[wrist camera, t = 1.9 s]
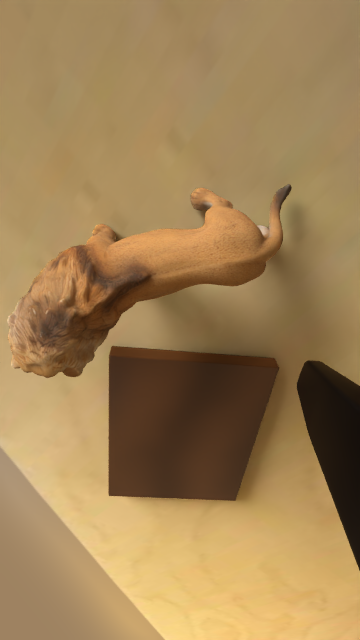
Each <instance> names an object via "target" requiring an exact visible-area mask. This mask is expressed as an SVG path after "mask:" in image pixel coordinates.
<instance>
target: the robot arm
mask: <svg viewBox="0 0 360 640" xmlns="http://www.w3.org/2000/svg"><path fill="white" fill-rule="evenodd" d="M297 391H298V395H299V398H300V402H301V406H302V410H303V414H304V418H305V422H306V426H307V430H308V433H309V436H310V439H311V442H312V445H313V447H314V450H315V453H316V455H317V458H318V461H319V463H320V466H321V469H322V471H323V474H324V477H325V479H326V482H327V485H328V487H329V490H330V493H331V495H332V498H333V501H334V503H335V506H336V509H337V511H338V514H339V517H340V519H341V522H342V525H343V527H344V530H345V533H346V535H347V538H348V541H349V543H350V546H351V549H352V551H353V554H354V557H355V559H356V562H357V565H358V567H359V570H360V386H359V385H357V384H356V383H354V382H352V381H351V380H349V379H348V378H346V377H344V376H343V375H341V374H340V373H338V372H337V371H335V370H333V369H332V368H330V367H329V366H327V365H325V364H324V363H322V362H320V361H310V360H308V361H306V362H305V363H304V365H303V368H302V371H301V373H300V376H299V379H298V382H297Z"/></svg>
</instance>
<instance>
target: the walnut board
mask: <svg viewBox="0 0 360 640" xmlns="http://www.w3.org/2000/svg"><path fill="white" fill-rule="evenodd" d="M278 370H279V367H278V365H277V363H276V361H275V359H274V358H262V357H249V356H236V355H223V354H210V353H196V352H183V351H170V350H157V349H144V348H131V347H117V346H112V347H111V351H110V354H109V496H128V497H153V498H179V499H204V500H230V501H235V500H236V497H237V494H238V491H239V488H240V485H241V482H242V479H243V476H244V473H245V470H246V467H247V464H248V461H249V458H250V455H251V452H252V449H253V446H254V443H255V440H256V437H257V434H258V431H259V428H260V425H261V421H262V418H263V415H264V412H265V409H266V406H267V403H268V400H269V397H270V394H271V391H272V388H273V385H274V382H275V379H276V376H277V373H278Z"/></svg>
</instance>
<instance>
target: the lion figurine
mask: <svg viewBox="0 0 360 640" xmlns="http://www.w3.org/2000/svg"><path fill="white" fill-rule="evenodd" d="M290 191H291V185H290V184H288V185H287V186H285V187H283V188H281V189H279V190H278V191H277V192H276V194H275V196H274V198H273V201H272V203H271V207H270V223H269V228H267V227H265V226H256V225H255V224H254V223H253V222H252V221H251V220H250V219H249V218H248V217H247V216H246V215H245V214H243V213H242V212H240V211H237V210H235V209H232V203H231V202H229V201H227V200H225V199H223V198H221V197H219V196H217V195H216V194H214V193H213V192H211V191H210V190H207V189H204V188H197V189H195V190H194V191H193V193H192V194H191V202H192V205H193V207H194V209H197V210H207V209H209V210H207V212H206V214H205V223H204V225H203V226H202V227H201V228H198V229H190V230H188V229H159V230H154V231H150V232H146V233H142V234H139V235H133V236H130V237H127V238H124V239H122V240H119V241H117V242H115V240H116V238H117V236H116V234H115V233H114V231H113V230H112V229H111V228H110V227H108V226H106V225H103V224H100V225H97V226H96V227H95V229H94V230H93V236H92V237H91V238H90V239H89V240H88V241H87V244H86V245H79V246H74V247H71V248H69V249H67V250H65V251H64V252H60V253H59V255H58V257H57V258H56V259H53V260H51V261H50V262H48V264H47V265H46V266H45V268H44V269H43V270H42V271H41V272H40V274H39V275H38V276H37V277H36V278H35V279H34V281H33V282H32V284H31V286H30V289H29V291H28V293H27V294H26V295H25V296H24V297H22V298H21V299H20V300H19V301H18V303H17V305H16V308H15V311H14V312H13V313H12V314H11V315H10V316H9V317H8V325H9V327H10V330H9V333H8V340H9V342H10V345H11V351H12V353H13V358H12V361H11V363H12V367H13V368H21V369H22V370H23V371H24V372H27V373H28V372H33V373H35V374H37V375H40V376H44V377H46V378H49V377H53V376H55V375H56V374H57V373H58V372H63V373H64V374H65V375H66V376H69V377H77V376H79V375H80V374H81V373H82V371H83V368H84V367H85V366H86V364H87V363H88V362H90V361H92V360H93V358H94V356H95V355H94V352H95V351H96V349H97V347H99V346H100V345H101V344H102V343H103V342H104V340H105V339H106V337H107V335H108V331H109V330H110V329H111V328H113V327H114V326H115V325H116V323H117V321H118V320H119V318H120V316H121V314H122V313H123V312H125V311H127V310H128V309H129V308H131V307H132V306H133V305H134V304H135V303H136V302H139V301H144V300H149V299H155V298H159V297H162V296H165V295H169V294H172V293H175V292H177V291H179V290H182V289H184V288H187V287H190V286H194V285H198V284H215V285H224V286H238V285H242V284H244V283H246V282H249V281H251V280H253V279H255V278H257V277H259V276H260V275H261V274H262V273H263V272H264V270H265V266H266V261H268V260H269V259H270V258H272V257H273V256H274V255H275V254H276V253H277V251H278V250H279V249H280V247H281V244H282V241H283V231H282V226H281V221H280V215H279V214H280V209H281V205H282V203H283V201H284V200H285V199H286V197H287V196H288V195H289V193H290Z"/></svg>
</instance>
